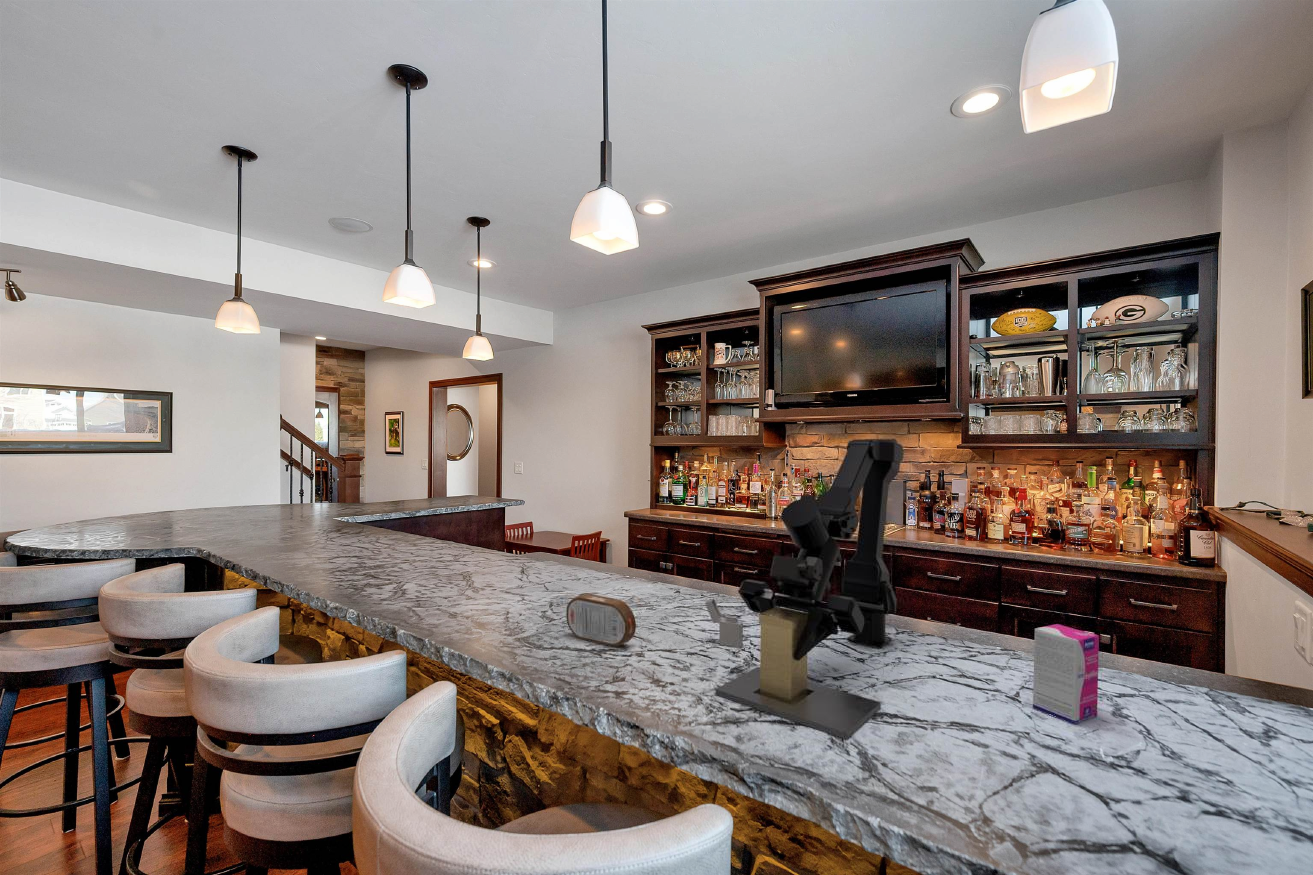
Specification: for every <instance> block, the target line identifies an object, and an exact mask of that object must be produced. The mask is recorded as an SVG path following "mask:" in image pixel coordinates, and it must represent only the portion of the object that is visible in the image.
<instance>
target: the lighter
mask: <svg viewBox="0 0 1313 875" xmlns="http://www.w3.org/2000/svg"><path fill="white" fill-rule="evenodd" d="M704 604H705V606H706V609H707V612H708V614H709V617H710V618H711V621H712V623H713V624H715V623H718V622H719V627H718V628H719V637H718V638H719V639H718V641H719V645H720V646H721V645H722V646H727V647H732V648H737V649H741V648H742V647H744V646H743V645H744V640H743V639H744V622H743V621H739V618H737V616H736V615H725V619H724V618H723V617H722V614H721V611H720V609H719V607H718V604H717V602H716V599H715V598H710V599H708V600H705V602H704Z"/></svg>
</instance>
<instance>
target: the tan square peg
mask: <svg viewBox="0 0 1313 875" xmlns="http://www.w3.org/2000/svg"><path fill="white" fill-rule="evenodd" d="M807 620H808V613H807V612H803V611H798V610H793V609H788V608H783V607H780V608H779V607H776V608H773V609H771V610H768V611H766V612H763V613H758V623H759V624H760V653H759V654H760V660H759V661H760V664H759V666H760V694H759V695H762V696H765V697H768V698H771V699H775V700H778V701H781V702H784V703H787V704H790V705H793V706H794V705H796V704H797V703H798V702H800V701H801V700H803V699H804V698H806V697H807V696H808V694H807V681H808V653H807V654H806V655H805V656H804V657H803V658H801V659H800V660H799V661H797V660H796V659H795V658H794V655H795V651H796V648H797V645H798V642H799V640H800V638H801V635H802V633H803V631H804V628H805V626H806V623H807Z"/></svg>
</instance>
